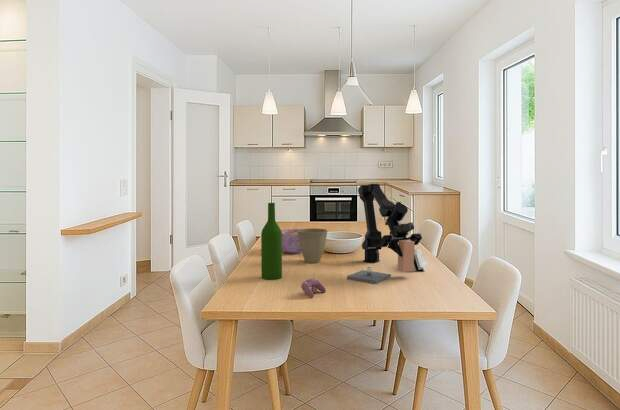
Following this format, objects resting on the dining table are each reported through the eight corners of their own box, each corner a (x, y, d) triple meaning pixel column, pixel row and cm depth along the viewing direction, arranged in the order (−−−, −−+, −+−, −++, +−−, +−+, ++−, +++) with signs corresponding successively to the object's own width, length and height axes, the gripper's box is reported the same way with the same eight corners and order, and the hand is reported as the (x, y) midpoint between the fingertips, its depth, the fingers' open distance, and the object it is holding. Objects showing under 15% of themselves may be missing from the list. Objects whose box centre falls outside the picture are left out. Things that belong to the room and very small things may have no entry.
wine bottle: (272, 273, 215) (272, 201, 212) (286, 277, 209) (286, 203, 206) (257, 277, 209) (256, 202, 206) (270, 281, 202) (270, 204, 199)
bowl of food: (278, 248, 276) (278, 228, 275) (313, 249, 274) (313, 229, 273) (272, 255, 256) (272, 234, 255) (309, 256, 254) (310, 234, 253)
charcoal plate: (347, 278, 207) (347, 276, 207) (362, 272, 218) (362, 269, 218) (376, 283, 199) (376, 280, 199) (390, 276, 210) (390, 274, 210)
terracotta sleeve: (397, 269, 212) (398, 240, 211) (407, 268, 214) (408, 239, 212) (403, 271, 207) (404, 242, 206) (413, 271, 209) (414, 241, 208)
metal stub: (366, 275, 208) (366, 267, 208) (368, 274, 210) (368, 267, 209) (370, 275, 207) (370, 268, 207) (372, 275, 209) (372, 267, 208)
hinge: (424, 271, 220) (417, 251, 220) (414, 274, 222) (407, 253, 222) (428, 264, 236) (421, 245, 236) (418, 266, 238) (412, 247, 238)
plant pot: (326, 258, 249) (326, 228, 247) (328, 264, 234) (328, 232, 233) (297, 258, 248) (297, 228, 247) (297, 264, 234) (297, 232, 232)
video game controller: (318, 294, 188) (312, 278, 189) (327, 291, 185) (320, 274, 186) (304, 301, 180) (297, 283, 181) (313, 297, 177) (306, 279, 178)
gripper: (383, 217, 209) (395, 246, 199) (420, 215, 215) (433, 244, 205) (374, 232, 217) (385, 261, 208) (411, 230, 223) (423, 258, 214)
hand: (407, 255), depth 208 cm, fingers closed on terracotta sleeve, 5 cm apart
